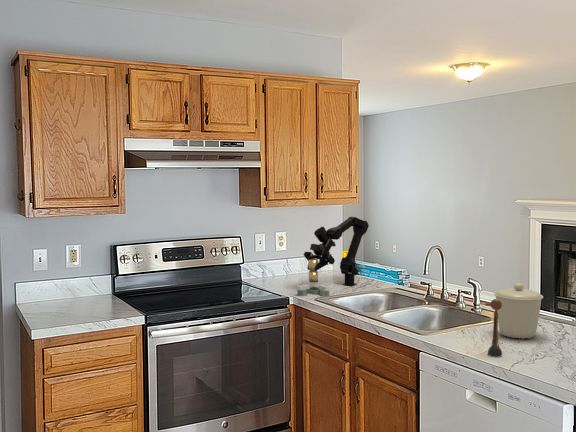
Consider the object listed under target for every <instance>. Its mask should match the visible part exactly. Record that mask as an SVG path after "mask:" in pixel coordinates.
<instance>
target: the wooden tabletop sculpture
mask: <svg viewBox="0 0 576 432" xmlns="http://www.w3.org/2000/svg"><path fill="white" fill-rule="evenodd" d="M485 306H489V307H491V309H492V310H494V311H493V328H492V329H493V331H492V342H491V344H490V346H489V348H488V351H487V355H488V356H489V355H491V356H490V357H492V356H501V355H502V356H503V352H502V349H501V348H500V344H499V335H498V334H499V332H498V331H499V330H498V329H499V324H498V313H497V310H500V309H501V307H502V303H501V301H500V300H498V299H496V298H495V299H492V300H491V301H490V302H485ZM502 356H501V357H502Z"/></svg>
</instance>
